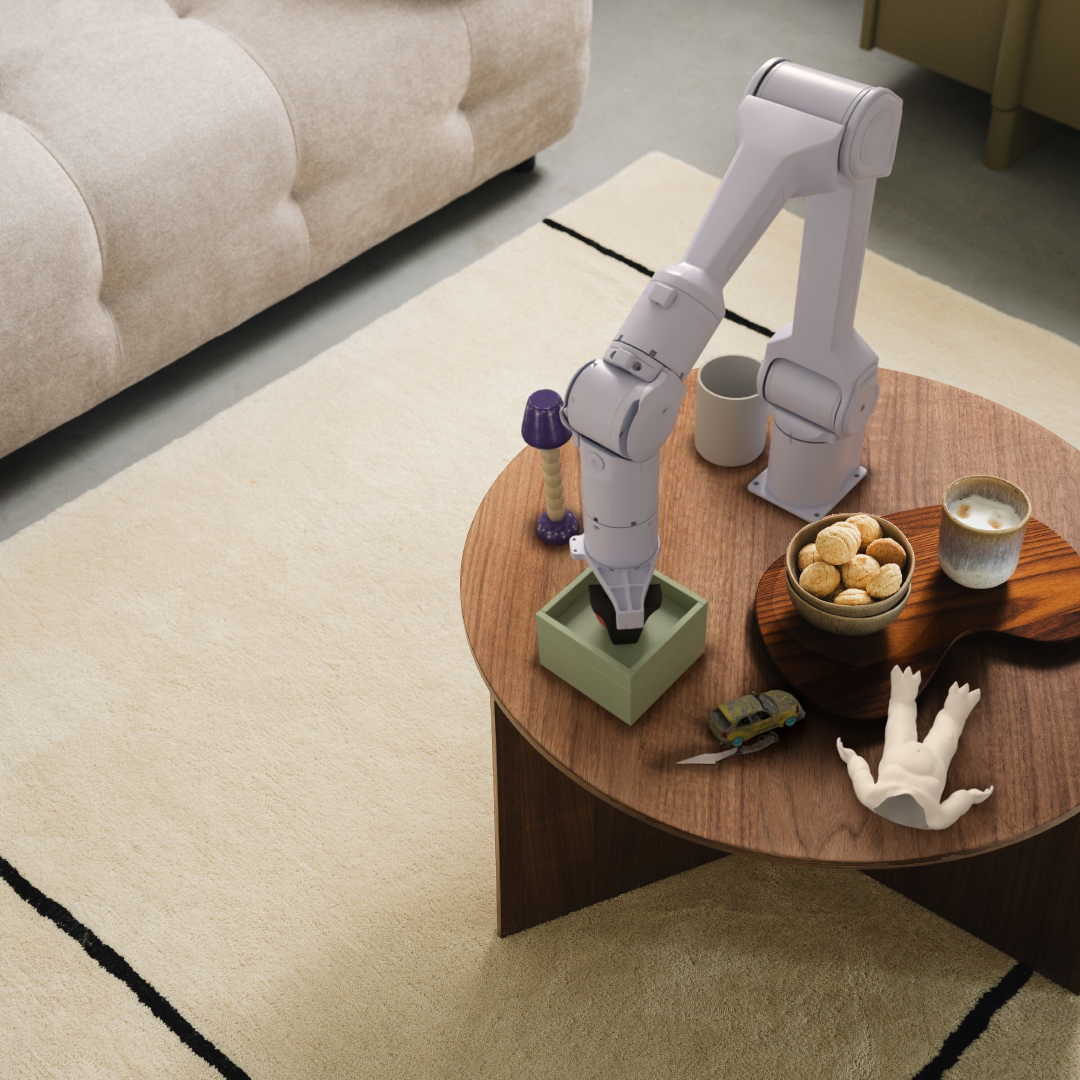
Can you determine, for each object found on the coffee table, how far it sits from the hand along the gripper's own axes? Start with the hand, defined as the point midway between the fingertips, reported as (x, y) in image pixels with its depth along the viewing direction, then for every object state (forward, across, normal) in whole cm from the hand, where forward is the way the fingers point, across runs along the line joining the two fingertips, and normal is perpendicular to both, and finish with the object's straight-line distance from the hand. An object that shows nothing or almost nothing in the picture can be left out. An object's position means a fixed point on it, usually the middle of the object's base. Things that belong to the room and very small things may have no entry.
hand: (621, 617), depth 96 cm
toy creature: (+4, +8, +24) cm, 26 cm away
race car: (+6, +8, +10) cm, 14 cm away
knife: (+6, +7, +8) cm, 12 cm away
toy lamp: (+6, -16, -5) cm, 18 cm away
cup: (+6, -28, +14) cm, 31 cm away
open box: (+6, 0, 0) cm, 6 cm away
